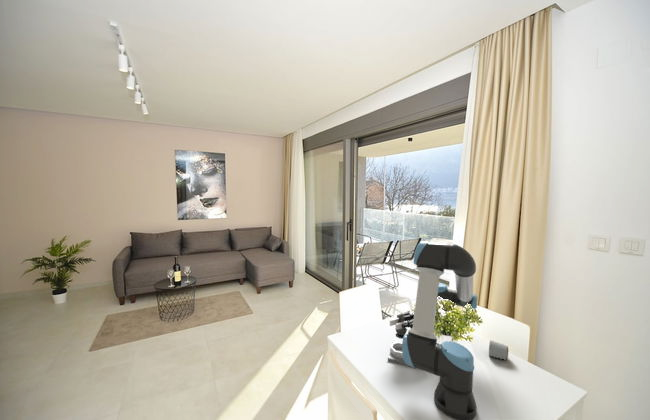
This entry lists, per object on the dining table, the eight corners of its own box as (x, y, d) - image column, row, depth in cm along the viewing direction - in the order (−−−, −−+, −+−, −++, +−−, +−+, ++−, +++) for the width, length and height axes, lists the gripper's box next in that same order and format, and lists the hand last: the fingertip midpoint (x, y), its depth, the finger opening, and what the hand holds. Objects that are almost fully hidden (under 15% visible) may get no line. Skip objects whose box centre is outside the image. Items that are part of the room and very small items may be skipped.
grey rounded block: (508, 364, 131) (509, 349, 131) (488, 358, 135) (489, 343, 135) (506, 353, 140) (507, 339, 140) (488, 348, 144) (489, 334, 144)
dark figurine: (392, 334, 138) (393, 311, 137) (401, 331, 140) (402, 309, 140) (400, 339, 133) (400, 316, 132) (409, 337, 135) (410, 314, 134)
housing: (430, 371, 125) (431, 363, 124) (387, 360, 132) (388, 353, 132) (431, 354, 138) (431, 346, 138) (392, 344, 146) (392, 337, 146)
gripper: (438, 329, 137) (404, 340, 126) (414, 315, 152) (382, 324, 141) (439, 315, 137) (405, 325, 126) (415, 302, 151) (382, 310, 141)
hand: (393, 324), depth 134 cm, fingers closed on dark figurine, 3 cm apart
